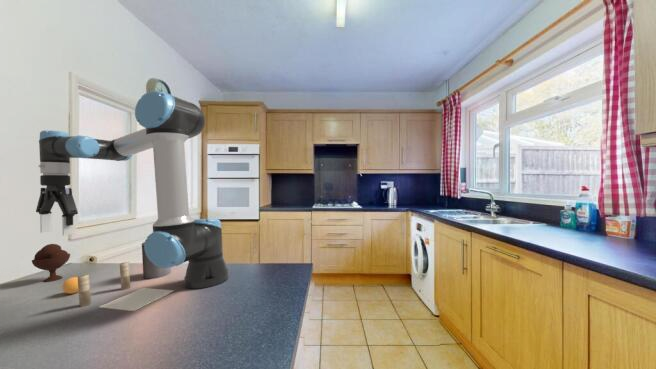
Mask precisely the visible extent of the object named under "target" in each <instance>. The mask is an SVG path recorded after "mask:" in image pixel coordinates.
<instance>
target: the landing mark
mask: <svg viewBox="0 0 656 369" xmlns="http://www.w3.org/2000/svg"><path fill="white" fill-rule="evenodd" d="M173 292H175V289H174V290H173V289H161V288H160V289H159V288H149V287H148V288H147V287H141V288H139V289H137V290H135V291H133V292H130V293H127V294H126V295H124V296H120V297H118V298H116V299H114V300H111V301H109V302H107V303H104V304H102V305H99V306H98V308H101V309H110V310H120V311H129V312H135V311H137V310H139V309H141V308H143V307H144V306H147V305H149V304H151V303H153V302H155V301H156V300H159V299H161V298H164V297H165V296H167V295H169V294H171V293H173Z"/></svg>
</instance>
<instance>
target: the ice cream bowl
mask: <svg viewBox="0 0 656 369" xmlns="http://www.w3.org/2000/svg"><path fill="white" fill-rule="evenodd" d="M70 257H71V253H68V252H67V251H66V250H64V249H62V247H61V245H59V244H57V243H50V244H46V245H44V246H43V247H41V248H40V249H39V250H38V251H37V252H36V253H35V254H34V257H33V259H32V260H31V262H32V265H33V266H34V267H35V268H38V269H39V270H42V271H48V272H49V276H48V277H47V278H45V279H43V281H42V282H44V283H50V282H55V281H59V280H61V279H62V278H63V276H62V275H58V274H57V269H59V268H62V266H64V265H65V264H66V263H67V262H68V261H69V260H70Z"/></svg>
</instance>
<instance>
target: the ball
mask: <svg viewBox="0 0 656 369" xmlns="http://www.w3.org/2000/svg"><path fill="white" fill-rule="evenodd" d="M78 277H79V276H74V277H73V276H72V277H69V278H68V279H66V280H65V281H64V282H63V284H62V291H63V292H64V293H66V294H69V295H71V294H76V293H79V291H78Z"/></svg>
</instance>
